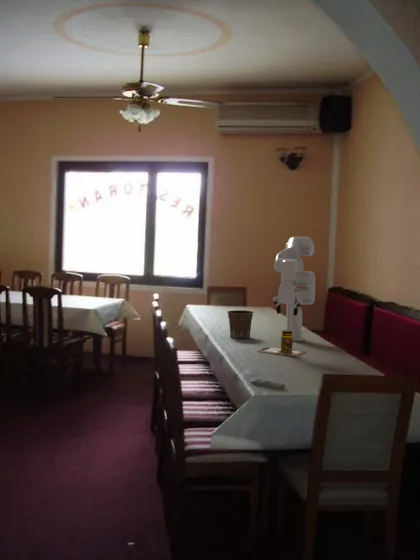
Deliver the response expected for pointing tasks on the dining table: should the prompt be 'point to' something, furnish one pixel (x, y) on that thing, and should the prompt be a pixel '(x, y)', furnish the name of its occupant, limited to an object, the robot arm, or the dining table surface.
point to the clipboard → (273, 350)
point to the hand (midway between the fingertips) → (286, 314)
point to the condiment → (286, 342)
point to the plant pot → (240, 323)
